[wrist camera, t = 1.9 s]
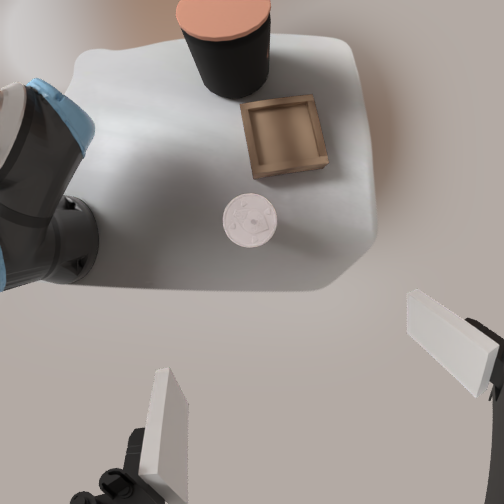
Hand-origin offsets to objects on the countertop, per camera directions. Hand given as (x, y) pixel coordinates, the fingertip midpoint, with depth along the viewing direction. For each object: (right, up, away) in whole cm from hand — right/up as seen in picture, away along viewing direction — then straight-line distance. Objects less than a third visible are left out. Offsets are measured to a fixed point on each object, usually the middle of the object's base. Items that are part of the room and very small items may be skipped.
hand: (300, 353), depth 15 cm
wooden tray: (+2, +22, +29) cm, 36 cm away
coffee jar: (-5, +34, +28) cm, 44 cm away
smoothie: (-2, +10, +30) cm, 32 cm away
